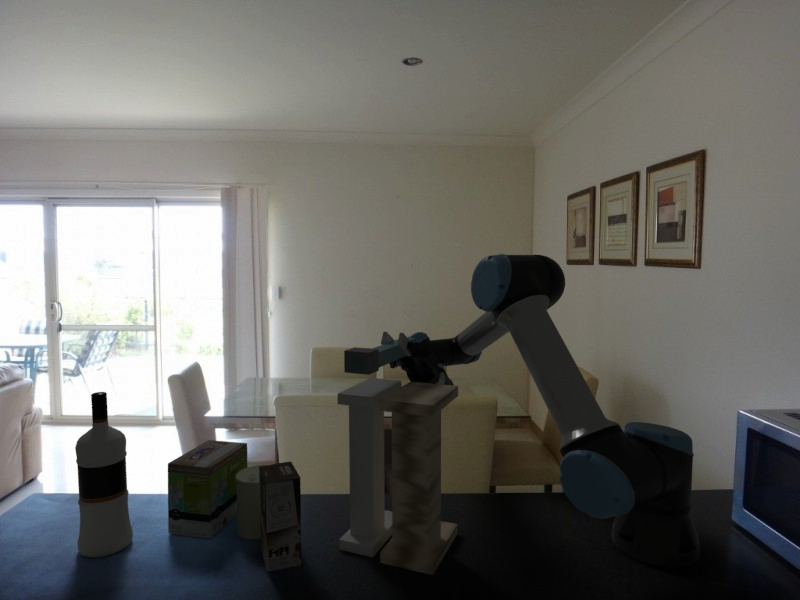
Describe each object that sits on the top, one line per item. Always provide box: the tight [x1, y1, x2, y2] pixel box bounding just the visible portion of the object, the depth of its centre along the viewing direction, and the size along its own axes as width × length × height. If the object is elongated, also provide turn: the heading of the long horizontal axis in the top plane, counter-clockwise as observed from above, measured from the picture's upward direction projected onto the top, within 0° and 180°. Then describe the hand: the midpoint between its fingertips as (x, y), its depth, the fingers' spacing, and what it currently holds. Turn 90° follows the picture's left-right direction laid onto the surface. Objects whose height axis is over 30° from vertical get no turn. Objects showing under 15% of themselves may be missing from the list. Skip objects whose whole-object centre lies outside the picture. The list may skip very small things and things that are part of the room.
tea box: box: [167, 439, 249, 539], centre depth 111 cm, size 15×10×15 cm
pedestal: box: [379, 381, 459, 576], centre depth 99 cm, size 10×15×30 cm, turn 157°
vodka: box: [74, 391, 134, 559], centre depth 100 cm, size 9×9×30 cm
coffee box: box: [259, 461, 302, 573], centre depth 97 cm, size 9×6×16 cm
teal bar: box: [343, 337, 415, 376], centre depth 106 cm, size 5×25×4 cm, turn 157°
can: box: [236, 464, 268, 540], centre depth 108 cm, size 9×9×12 cm
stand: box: [336, 377, 402, 558], centre depth 104 cm, size 7×14×30 cm, turn 157°
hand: (392, 338), depth 109 cm, fingers closed on teal bar, 3 cm apart
